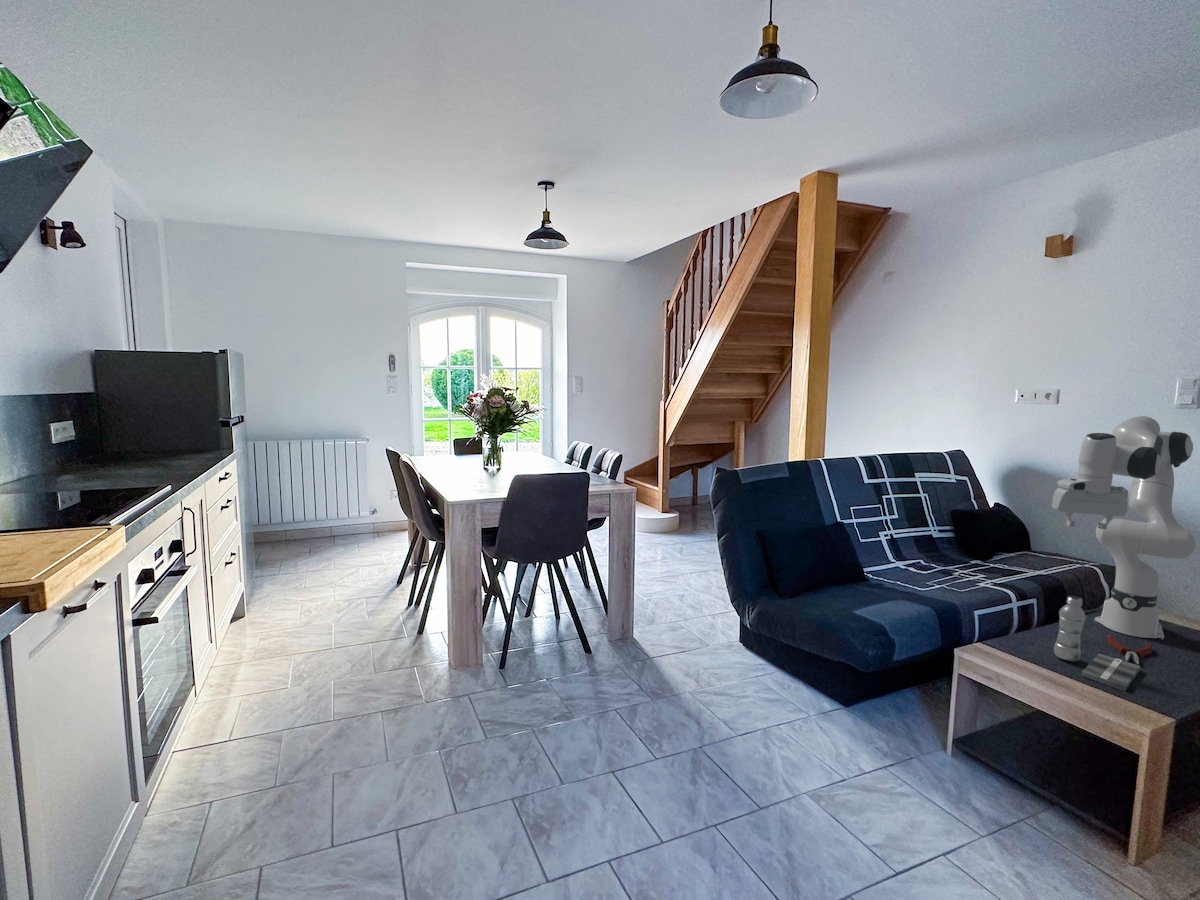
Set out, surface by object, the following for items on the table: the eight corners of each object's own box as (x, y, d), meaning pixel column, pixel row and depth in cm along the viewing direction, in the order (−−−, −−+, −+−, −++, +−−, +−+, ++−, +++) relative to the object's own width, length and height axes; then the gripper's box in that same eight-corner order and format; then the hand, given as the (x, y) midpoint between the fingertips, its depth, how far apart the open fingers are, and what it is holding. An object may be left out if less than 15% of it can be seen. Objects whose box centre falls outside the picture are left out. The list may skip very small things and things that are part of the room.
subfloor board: (1097, 657, 190) (1098, 652, 190) (1139, 670, 183) (1140, 665, 182) (1081, 676, 178) (1081, 671, 177) (1125, 691, 170) (1126, 685, 170)
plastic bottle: (1072, 665, 184) (1082, 603, 181) (1048, 656, 190) (1057, 595, 187) (1083, 661, 187) (1093, 600, 184) (1059, 652, 193) (1068, 592, 190)
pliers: (1108, 660, 190) (1109, 652, 189) (1105, 639, 205) (1106, 632, 205) (1157, 673, 183) (1158, 665, 182) (1150, 650, 198) (1151, 643, 198)
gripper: (1121, 485, 191) (1114, 527, 193) (1052, 480, 193) (1045, 522, 195) (1136, 489, 185) (1129, 532, 186) (1064, 484, 187) (1058, 527, 189)
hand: (1086, 527), depth 191 cm, fingers open, 8 cm apart
